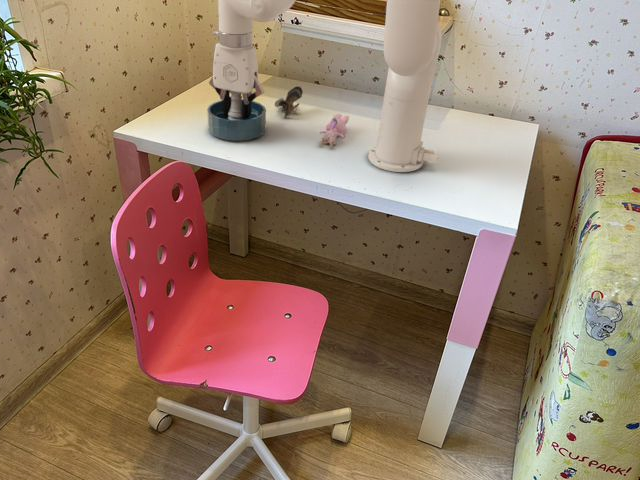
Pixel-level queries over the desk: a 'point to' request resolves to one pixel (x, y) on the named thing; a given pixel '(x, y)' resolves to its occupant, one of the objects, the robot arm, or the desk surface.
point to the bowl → (236, 123)
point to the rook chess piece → (235, 106)
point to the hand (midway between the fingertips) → (236, 115)
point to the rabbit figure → (334, 129)
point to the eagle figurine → (290, 100)
